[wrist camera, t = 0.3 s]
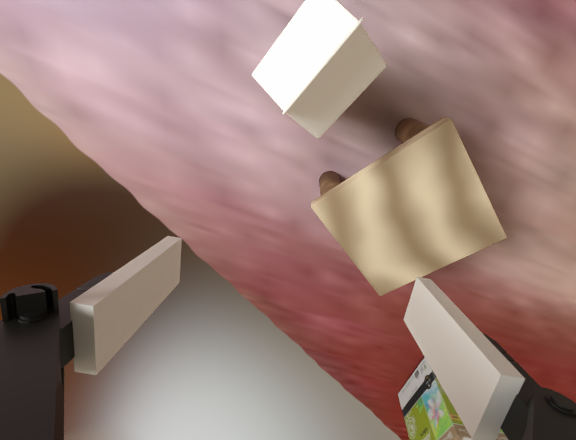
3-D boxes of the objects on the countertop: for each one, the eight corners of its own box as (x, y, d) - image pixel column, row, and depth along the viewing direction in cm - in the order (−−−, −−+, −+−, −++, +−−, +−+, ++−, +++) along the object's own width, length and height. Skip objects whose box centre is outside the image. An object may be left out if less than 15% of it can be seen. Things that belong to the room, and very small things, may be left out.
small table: (414, 107, 35) (451, 118, 26) (463, 201, 40) (506, 237, 31) (310, 178, 40) (311, 207, 31) (365, 252, 45) (379, 296, 37)
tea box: (423, 352, 56) (458, 437, 43) (470, 361, 56) (519, 448, 43) (395, 394, 63) (418, 477, 50) (437, 401, 64) (471, 486, 50)
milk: (278, 74, 34) (236, 74, 14) (312, 29, 32) (317, -42, 12) (314, 109, 36) (318, 152, 16) (349, 69, 33) (404, 63, 14)
